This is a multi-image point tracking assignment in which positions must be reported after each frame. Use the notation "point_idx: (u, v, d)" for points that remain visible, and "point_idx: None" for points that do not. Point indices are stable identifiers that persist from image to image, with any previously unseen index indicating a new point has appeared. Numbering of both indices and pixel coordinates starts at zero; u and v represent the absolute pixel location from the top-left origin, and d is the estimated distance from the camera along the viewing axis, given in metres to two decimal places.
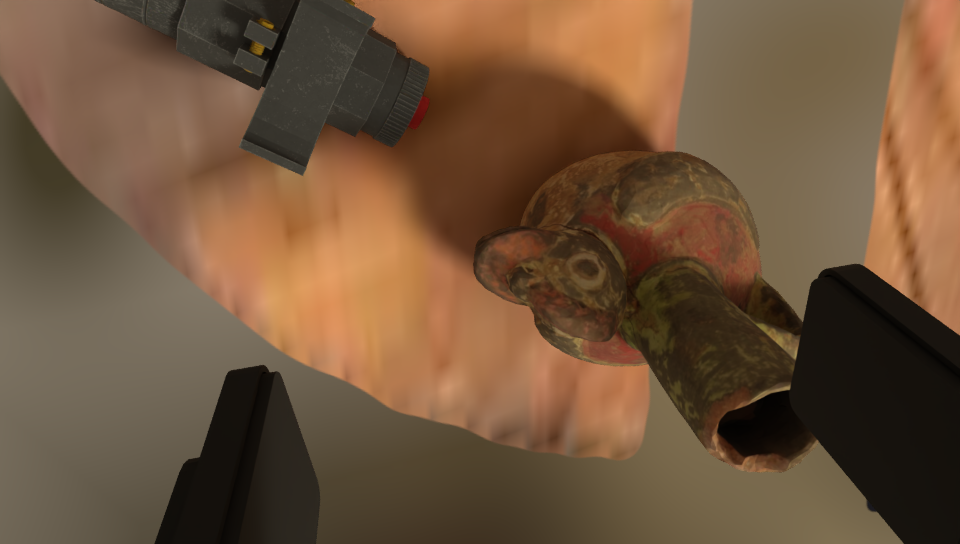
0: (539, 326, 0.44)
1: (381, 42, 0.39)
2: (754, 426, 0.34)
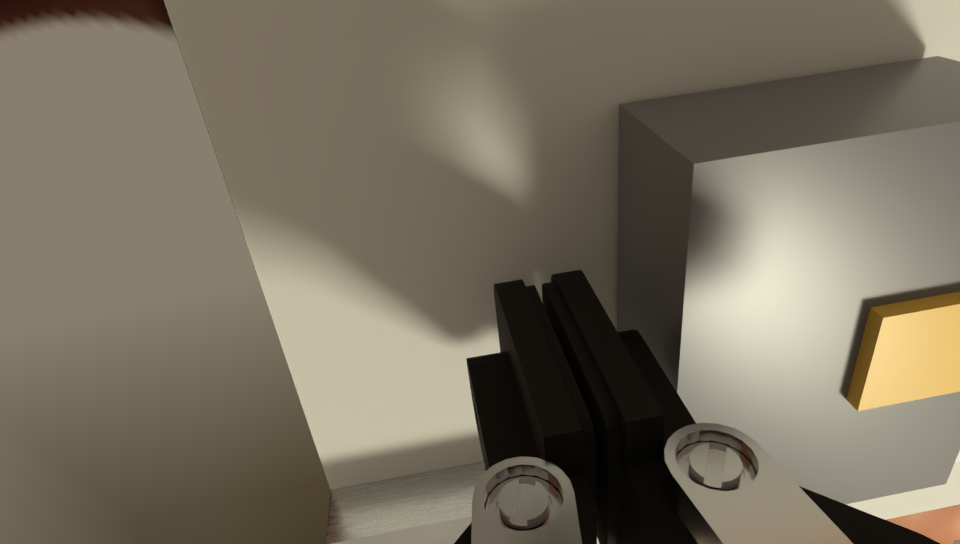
0: None
1: None
2: None
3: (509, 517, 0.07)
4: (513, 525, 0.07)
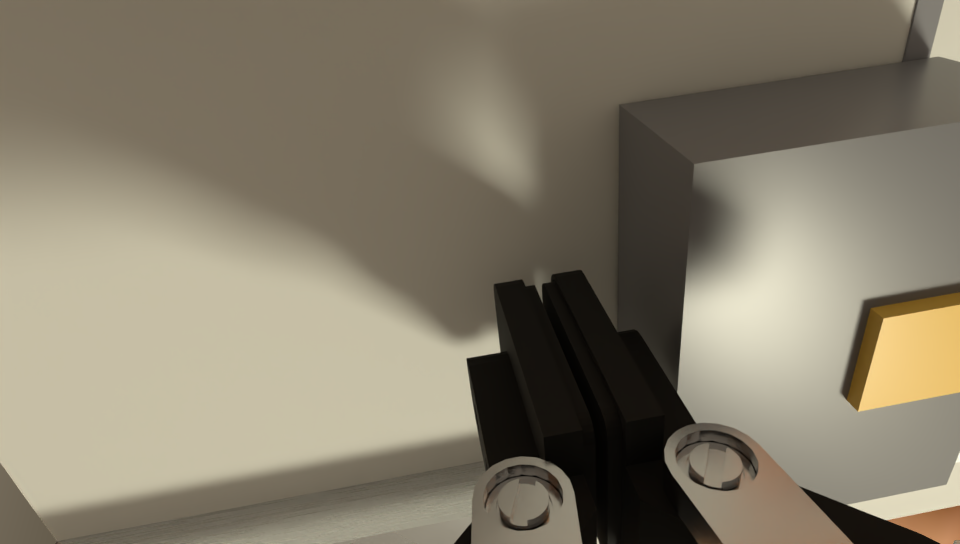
0: None
1: None
2: None
3: (509, 517, 0.07)
4: (513, 525, 0.07)
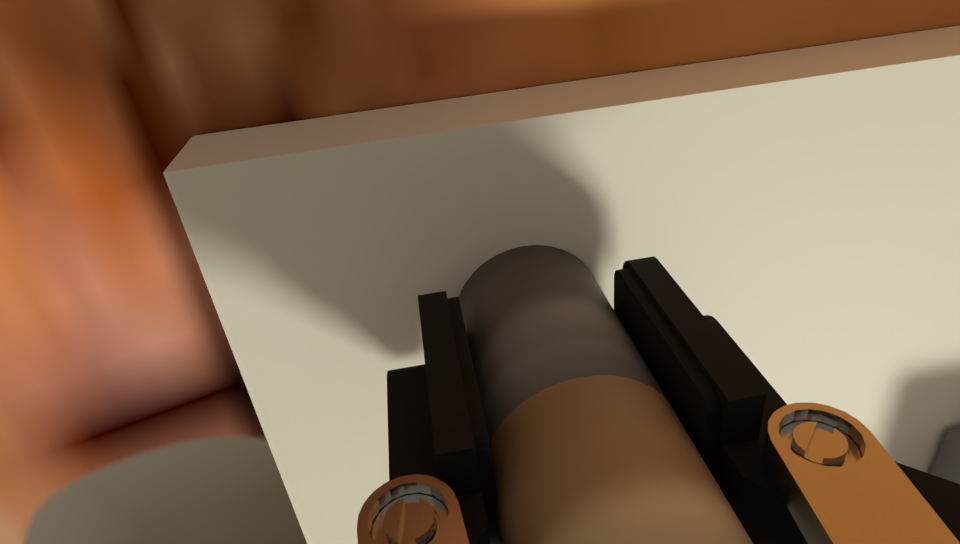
0: None
1: None
2: None
3: (396, 540, 0.07)
4: None
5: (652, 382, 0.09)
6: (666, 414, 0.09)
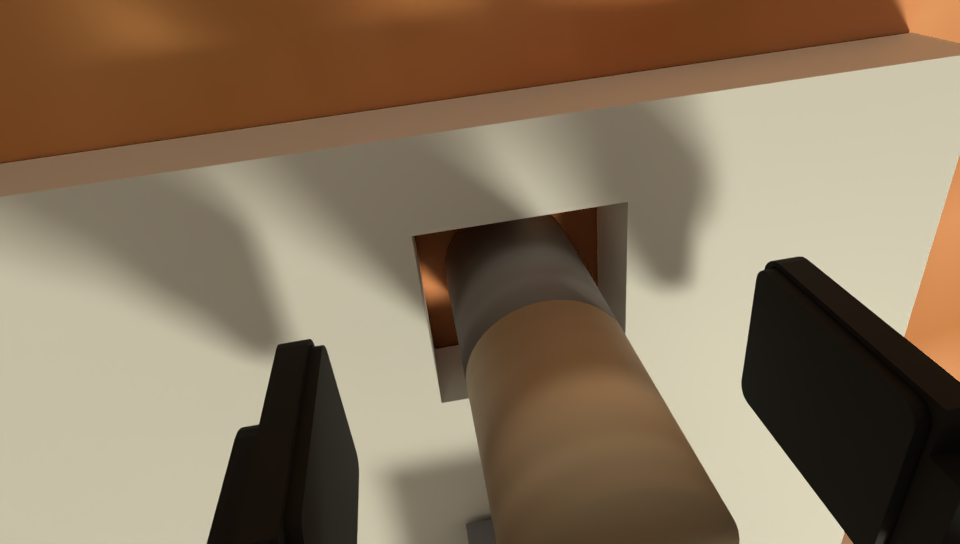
0: None
1: None
2: None
3: None
4: None
5: (606, 309, 0.11)
6: (614, 330, 0.10)
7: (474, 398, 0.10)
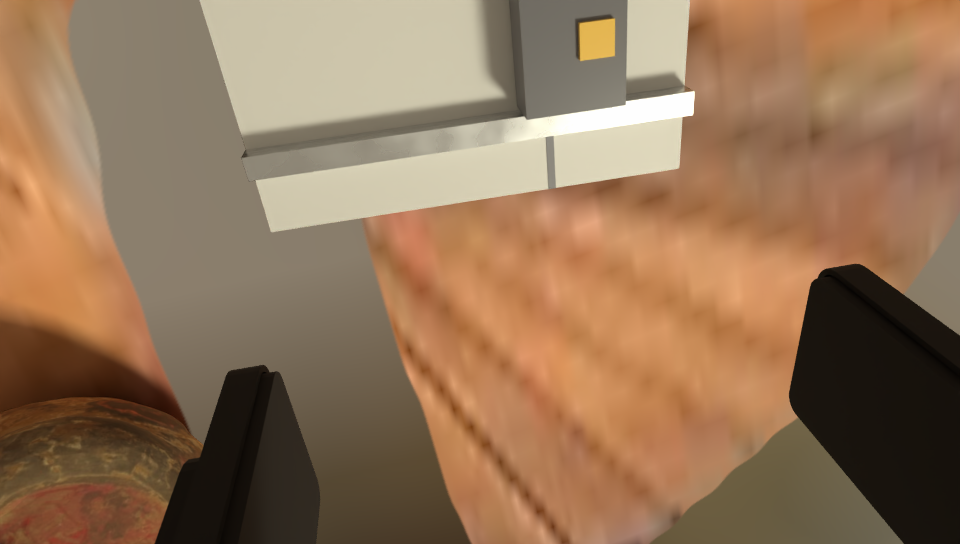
0: None
1: None
2: None
3: None
4: None
5: None
6: None
7: None
